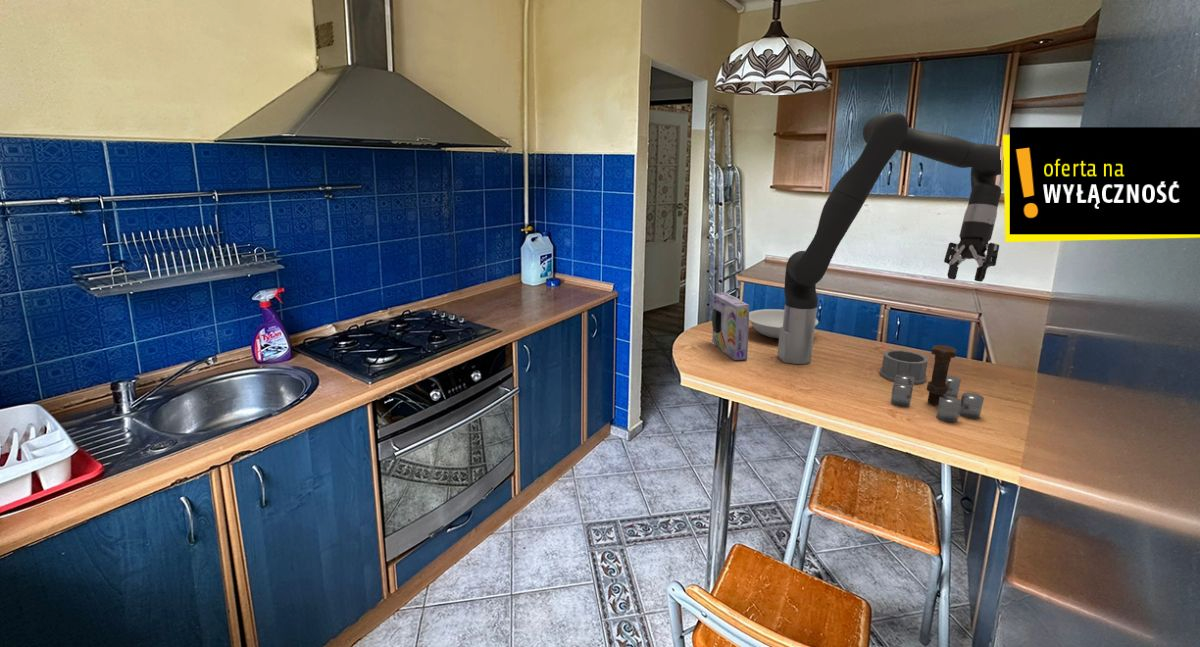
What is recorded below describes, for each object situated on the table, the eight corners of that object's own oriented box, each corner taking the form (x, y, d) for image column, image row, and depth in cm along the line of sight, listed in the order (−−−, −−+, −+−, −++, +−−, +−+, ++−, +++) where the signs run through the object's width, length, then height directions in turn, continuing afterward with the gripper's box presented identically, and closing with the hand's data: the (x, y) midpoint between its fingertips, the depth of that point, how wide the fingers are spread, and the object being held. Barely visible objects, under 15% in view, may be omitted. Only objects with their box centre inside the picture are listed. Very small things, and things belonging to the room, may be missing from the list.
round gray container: (892, 384, 157) (895, 363, 155) (871, 368, 168) (874, 349, 167) (935, 384, 157) (939, 363, 155) (911, 368, 168) (914, 349, 167)
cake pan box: (709, 342, 191) (712, 291, 186) (723, 341, 192) (726, 290, 187) (732, 362, 173) (736, 305, 168) (748, 361, 174) (752, 305, 169)
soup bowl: (738, 325, 210) (739, 308, 209) (803, 326, 210) (805, 309, 208) (752, 346, 187) (754, 327, 186) (826, 347, 187) (828, 328, 185)
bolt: (941, 400, 146) (952, 345, 142) (951, 408, 142) (962, 352, 137) (917, 399, 147) (927, 344, 143) (926, 407, 142) (937, 351, 138)
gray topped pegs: (915, 422, 134) (918, 403, 133) (876, 390, 152) (878, 373, 151) (995, 422, 134) (1000, 403, 133) (947, 390, 153) (950, 373, 151)
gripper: (946, 220, 164) (933, 276, 165) (992, 219, 150) (977, 279, 152) (966, 225, 166) (952, 280, 167) (1013, 224, 152) (998, 284, 154)
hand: (964, 280), depth 160 cm, fingers open, 8 cm apart
